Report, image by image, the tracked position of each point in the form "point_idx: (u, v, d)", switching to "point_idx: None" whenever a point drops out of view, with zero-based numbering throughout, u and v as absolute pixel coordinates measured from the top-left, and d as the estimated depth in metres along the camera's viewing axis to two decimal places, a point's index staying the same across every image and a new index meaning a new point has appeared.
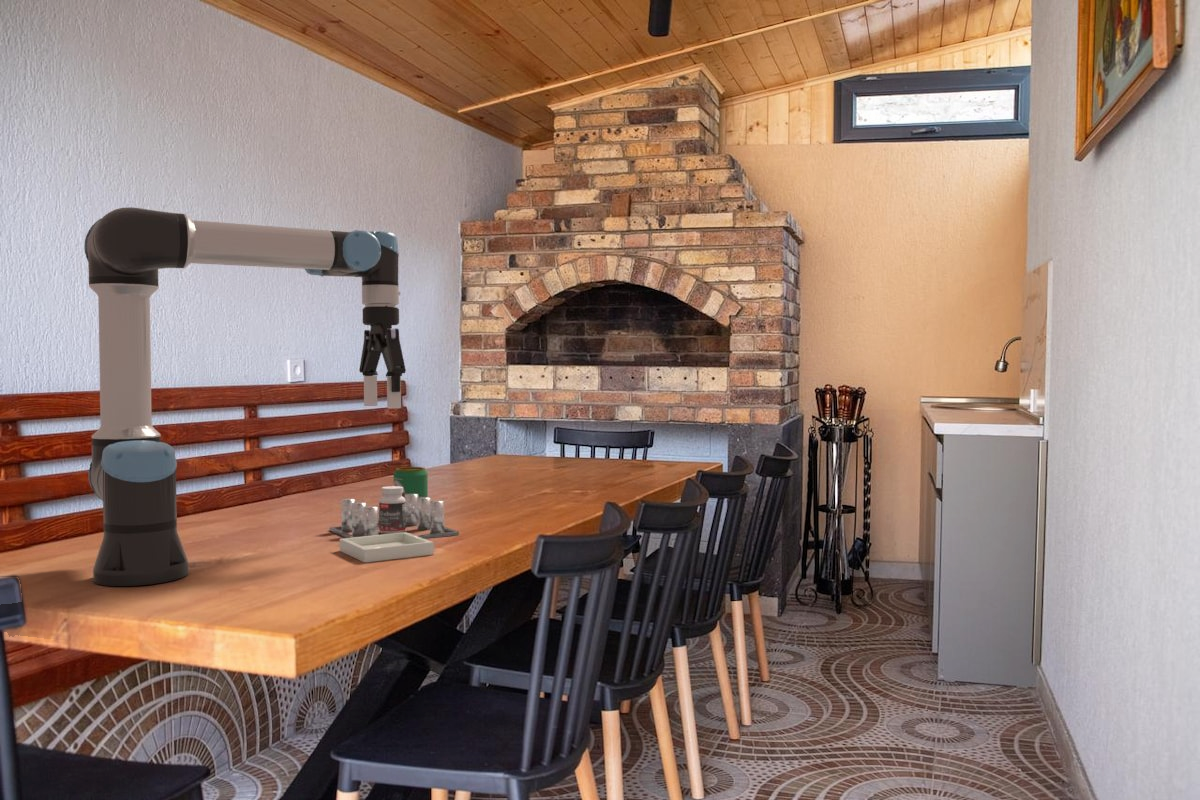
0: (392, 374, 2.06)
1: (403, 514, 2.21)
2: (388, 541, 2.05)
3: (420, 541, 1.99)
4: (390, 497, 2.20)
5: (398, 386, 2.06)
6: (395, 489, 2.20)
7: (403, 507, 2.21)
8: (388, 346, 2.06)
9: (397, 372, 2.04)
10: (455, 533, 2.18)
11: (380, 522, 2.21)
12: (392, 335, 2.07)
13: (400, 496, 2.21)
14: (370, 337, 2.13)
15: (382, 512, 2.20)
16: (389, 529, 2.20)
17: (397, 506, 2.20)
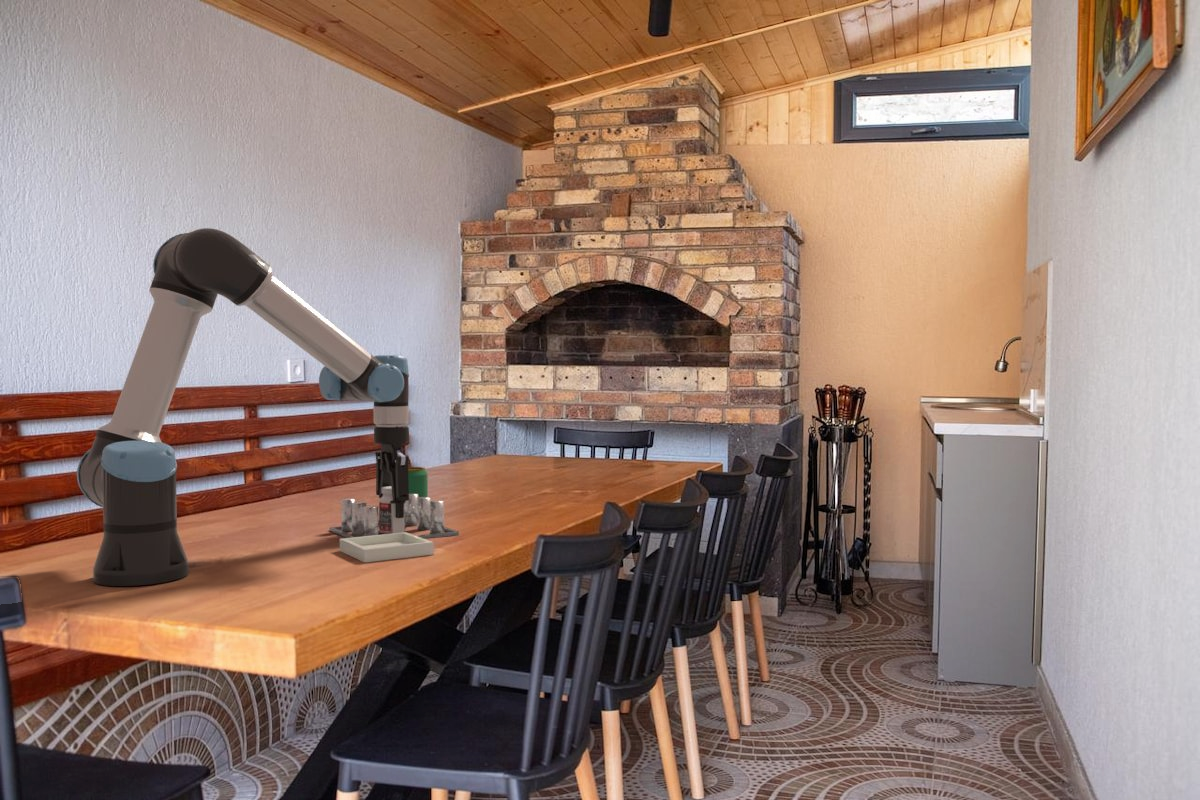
0: (396, 502, 2.18)
1: None
2: (388, 541, 2.05)
3: (420, 541, 1.99)
4: (390, 497, 2.20)
5: (402, 512, 2.18)
6: None
7: None
8: (396, 473, 2.16)
9: (401, 500, 2.17)
10: (455, 533, 2.18)
11: (380, 522, 2.21)
12: (402, 463, 2.16)
13: None
14: (381, 455, 2.22)
15: (382, 512, 2.20)
16: (389, 529, 2.20)
17: None
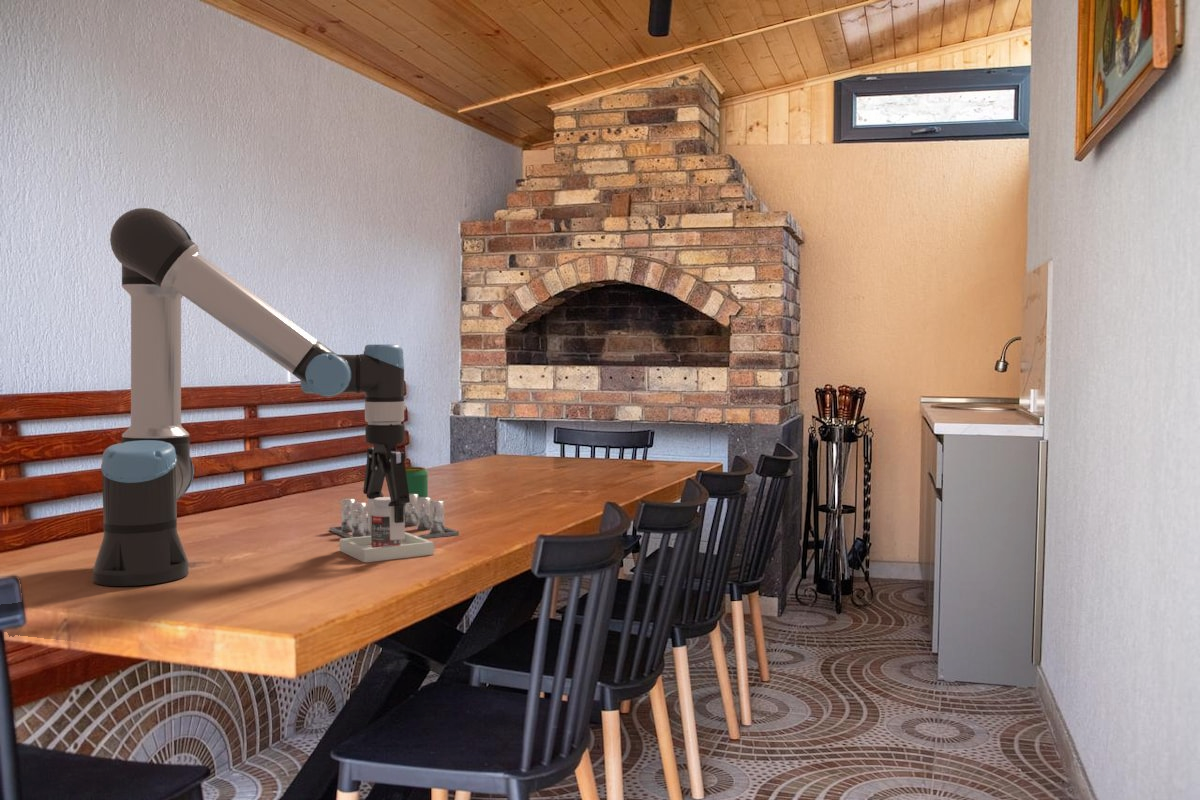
0: (395, 504, 1.92)
1: None
2: None
3: (420, 541, 1.99)
4: (383, 509, 1.96)
5: (401, 516, 1.92)
6: (389, 500, 1.96)
7: None
8: (392, 472, 1.92)
9: (400, 503, 1.90)
10: (455, 533, 2.18)
11: (372, 537, 1.97)
12: (397, 460, 1.92)
13: None
14: (373, 456, 1.98)
15: (374, 526, 1.96)
16: (382, 546, 1.96)
17: None
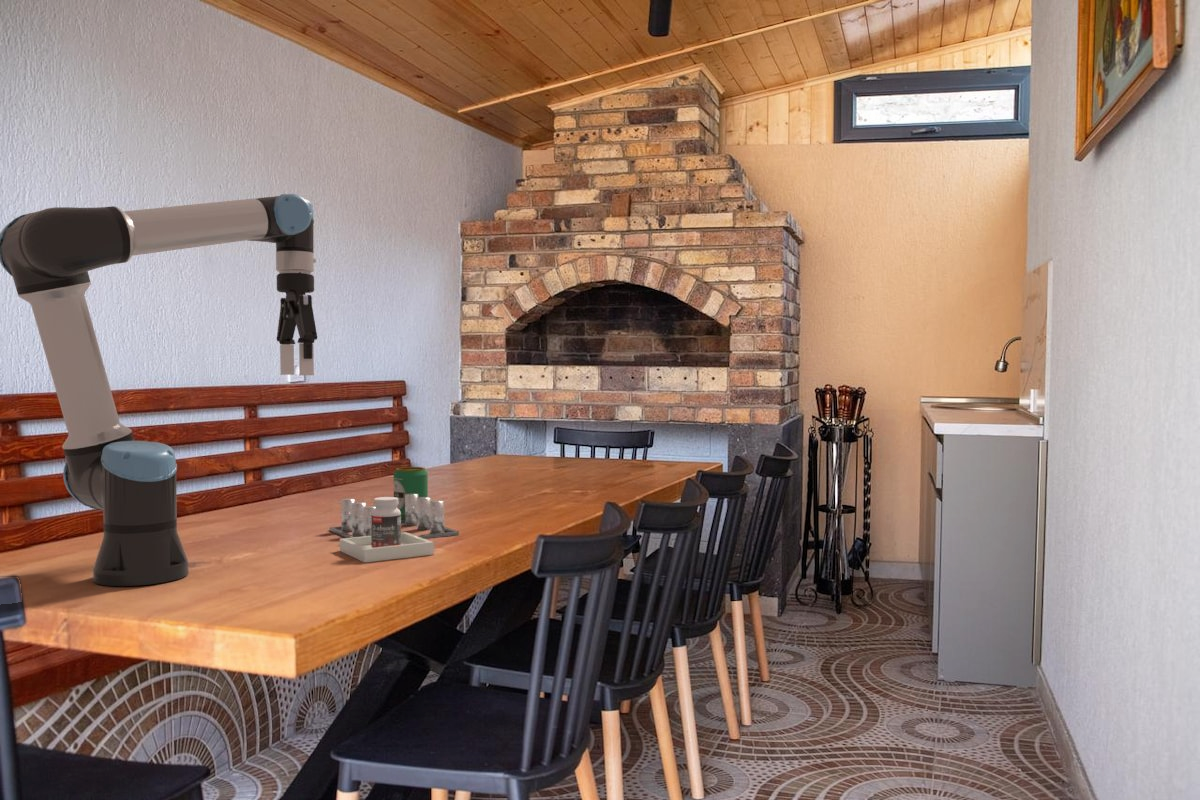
0: (304, 340, 2.04)
1: (398, 528, 1.97)
2: None
3: (420, 541, 1.99)
4: (383, 509, 1.96)
5: (310, 353, 2.05)
6: (389, 500, 1.96)
7: (398, 521, 1.97)
8: (300, 312, 2.05)
9: (308, 338, 2.03)
10: (455, 533, 2.18)
11: (372, 537, 1.97)
12: (304, 301, 2.05)
13: (395, 508, 1.97)
14: (284, 304, 2.11)
15: (374, 526, 1.96)
16: (382, 546, 1.96)
17: (392, 519, 1.96)
